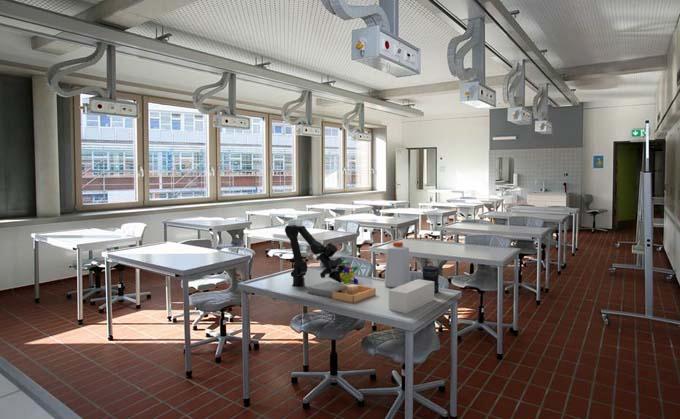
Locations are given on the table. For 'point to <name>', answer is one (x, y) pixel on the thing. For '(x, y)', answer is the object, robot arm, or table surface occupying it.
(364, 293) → the box
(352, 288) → the beech block
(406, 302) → the long white block
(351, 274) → the molecular model
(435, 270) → the storage jar
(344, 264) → the chalk box
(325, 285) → the slate plate
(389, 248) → the plastic bottle
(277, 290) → the table surface
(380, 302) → the table surface
